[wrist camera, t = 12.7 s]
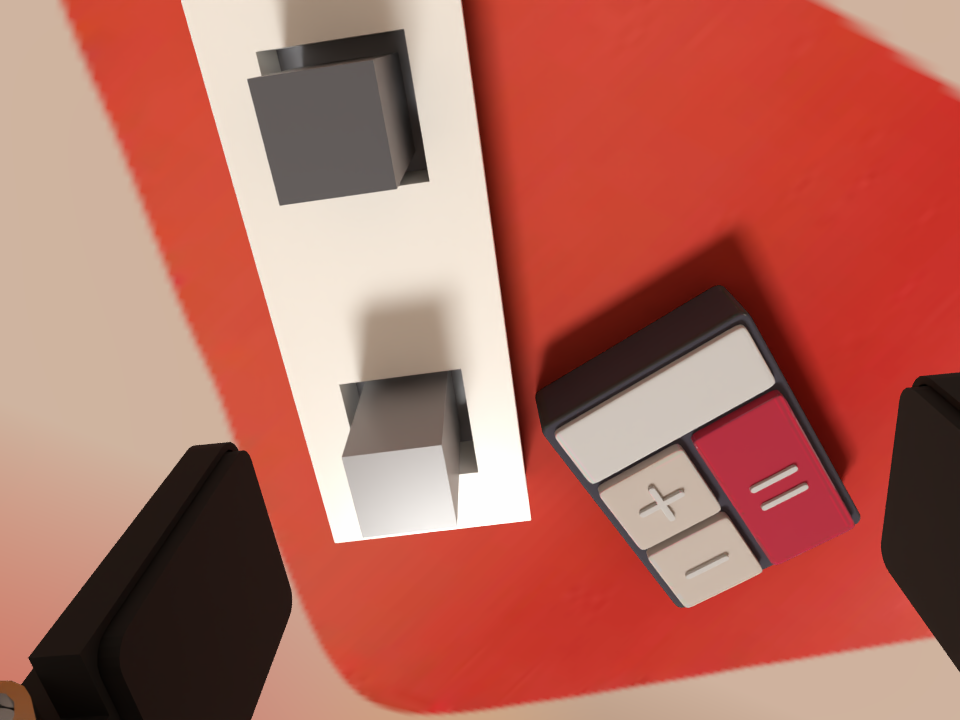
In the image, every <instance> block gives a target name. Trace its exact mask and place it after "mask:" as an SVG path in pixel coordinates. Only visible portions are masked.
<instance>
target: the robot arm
mask: <svg viewBox="0 0 960 720" xmlns="http://www.w3.org/2000/svg"><path fill="white" fill-rule="evenodd" d="M881 551H882V556H883V560H884V563H885V566H886V568H887V569H888V571H889V573H890V574H891V576H892V577H893V578H894V580H895V581H896V583H897V584H898V585H899V587H900V588H901V590H902V591H903V593H904V594H905V595H906V597H907V598H908V600H909V601H910V602H911V604H912V605H913V607H914V608H915V609H916V611H917V612H918V614H919V615H920V617H921V618H922V619H923V621H924V622H925V624H926V625H927V626H928V628H929V629H930V631H931V632H932V633H933V635H934V636H935V638H936V639H937V641H938V642H939V643H940V645H941V646H942V647H943V649H944V650H945V652H946V653H947V655H948V656H949V657H950V659H951V660H952V662H953V663H954V665H955V666H956V667H957V669H958V670H959V671H960V372H959V373H949V374H938V375H928V376H920V377H918V378H917V379H916V380H915V382H914V383H913V385H912V387H911V388H906V389H904V390H903V392H902V393H901V396H900V400H899V408H898V416H897V424H896V431H895V439H894V447H893V455H892V462H891V470H890V478H889V486H888V493H887V501H886V509H885V517H884V524H883V532H882V540H881ZM291 608H292V592H291V588H290V584H289V581H288V578H287V575H286V571H285V568H284V565H283V561H282V558H281V555H280V552H279V548H278V545H277V542H276V539H275V535H274V532H273V529H272V526H271V522H270V519H269V516H268V513H267V509H266V506H265V503H264V499H263V496H262V493H261V490H260V486H259V483H258V480H257V477H256V473H255V470H254V467H253V464H252V460H251V458H250V455H249V454H248V453H247V452H246V451H244V450H243V451H238V448H237V447H236V446H235V444H233V443H231V442H226V443H217V444H207V445H196V446H192V447H190V448H189V449H188V450H187V452H186V453H185V454H184V456H183V457H182V458H181V459H180V461H179V462H178V463H177V465H176V466H175V467H174V468H173V470H172V471H171V473H170V474H169V475H168V476H167V478H166V479H165V480H164V482H163V483H162V484H161V485H160V487H159V488H158V490H157V491H156V492H155V493H154V495H153V496H152V497H151V499H150V500H149V501H148V502H147V504H146V505H145V506H144V508H143V509H142V510H141V512H140V513H139V514H138V515H137V517H136V518H135V519H134V521H133V522H132V523H131V525H130V526H129V527H128V529H127V530H126V531H125V532H124V534H123V535H122V536H121V538H120V539H119V540H118V541H117V543H116V544H115V546H114V547H113V548H112V549H111V551H110V552H109V553H108V555H107V556H106V557H105V559H104V560H103V561H102V562H101V564H100V565H99V566H98V568H97V569H96V570H95V571H94V573H93V574H92V575H91V577H90V578H89V579H88V581H87V582H86V583H85V585H84V586H83V587H82V588H81V590H80V591H79V592H78V594H77V595H76V596H75V598H74V599H73V600H72V601H71V603H70V604H69V605H68V607H67V608H66V610H65V611H64V612H63V613H62V614H61V616H60V617H59V619H58V620H57V621H56V622H55V624H54V625H53V626H52V628H51V629H50V630H49V631H48V633H47V634H46V635H45V637H44V638H43V639H42V641H41V642H40V643H39V644H38V646H37V647H36V648H35V650H34V651H33V653H32V654H31V655H30V656H29V660H30V662H31V664H32V666H33V669H32V671H31V672H30V673H29V675H28V676H27V677H26V679H25V680H24V682H23V683H22V684H21V685H20V684H18V683H16V682H13V681H0V720H251V718H252V716H253V713H254V710H255V707H256V705H257V702H258V699H259V697H260V694H261V691H262V689H263V686H264V683H265V680H266V678H267V675H268V673H269V670H270V667H271V664H272V662H273V659H274V657H275V654H276V651H277V649H278V646H279V643H280V641H281V638H282V635H283V632H284V630H285V627H286V624H287V622H288V619H289V616H290V613H291Z"/></svg>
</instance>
